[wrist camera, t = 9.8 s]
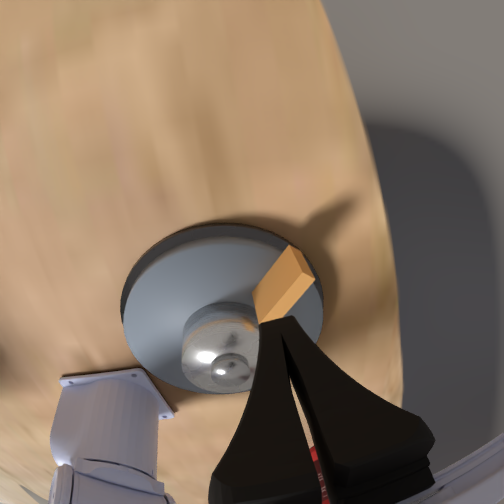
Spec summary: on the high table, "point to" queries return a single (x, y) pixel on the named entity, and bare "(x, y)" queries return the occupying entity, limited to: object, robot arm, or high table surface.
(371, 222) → the high table surface
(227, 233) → the turntable base
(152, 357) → the turntable
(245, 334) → the cover
